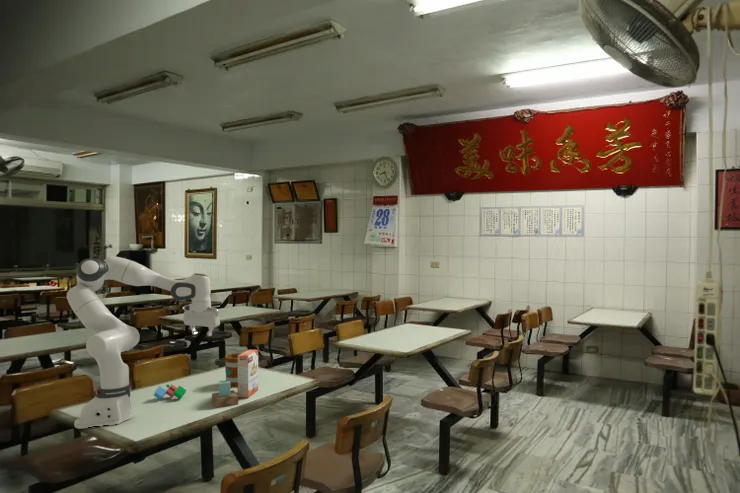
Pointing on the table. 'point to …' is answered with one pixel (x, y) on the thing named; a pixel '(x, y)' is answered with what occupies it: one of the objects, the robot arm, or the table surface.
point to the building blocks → (170, 391)
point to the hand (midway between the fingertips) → (201, 335)
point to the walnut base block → (224, 399)
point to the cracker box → (247, 373)
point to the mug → (232, 369)
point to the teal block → (224, 388)
